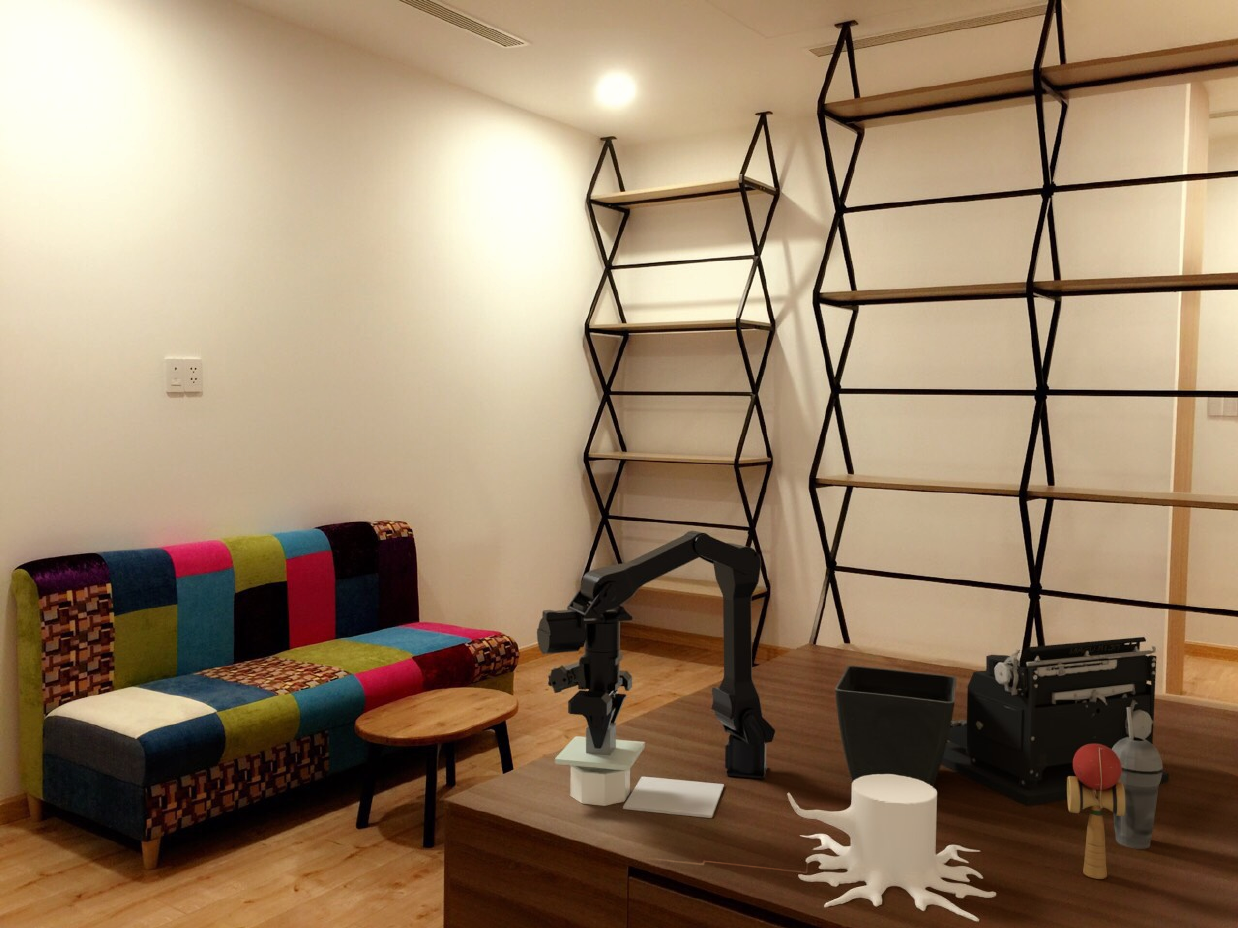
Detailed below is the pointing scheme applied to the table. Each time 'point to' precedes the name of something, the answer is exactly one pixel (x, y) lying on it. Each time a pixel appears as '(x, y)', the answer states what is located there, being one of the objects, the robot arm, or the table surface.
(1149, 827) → the beverage cup
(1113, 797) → the kendama
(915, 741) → the flower pot
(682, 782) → the mat
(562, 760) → the cover sheet
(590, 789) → the bowl
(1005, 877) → the table surface
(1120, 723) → the typewriter
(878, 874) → the tree stump
